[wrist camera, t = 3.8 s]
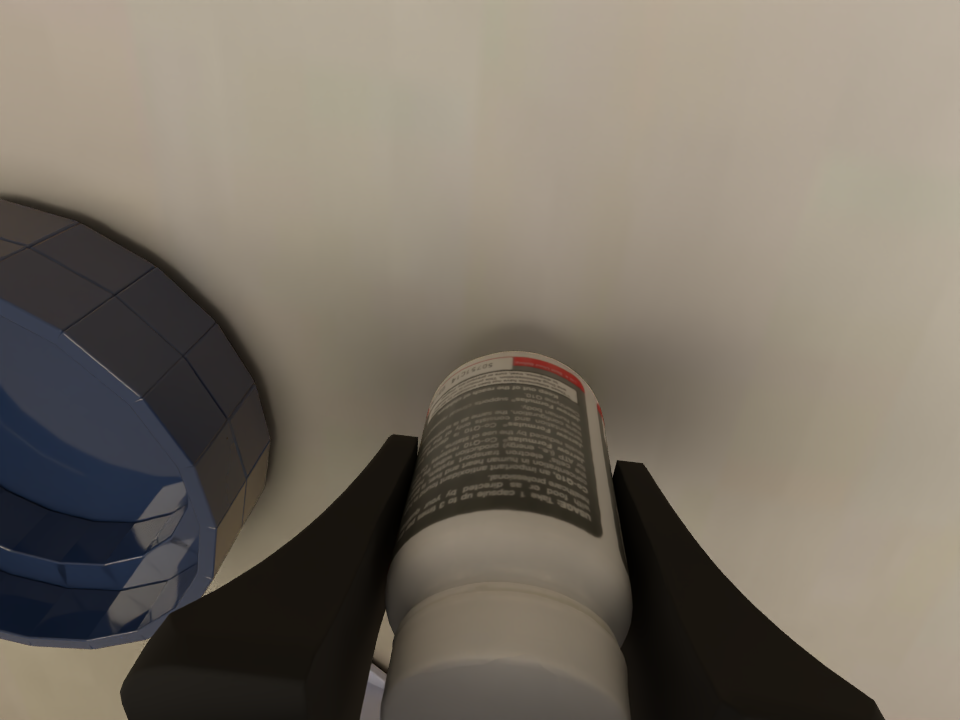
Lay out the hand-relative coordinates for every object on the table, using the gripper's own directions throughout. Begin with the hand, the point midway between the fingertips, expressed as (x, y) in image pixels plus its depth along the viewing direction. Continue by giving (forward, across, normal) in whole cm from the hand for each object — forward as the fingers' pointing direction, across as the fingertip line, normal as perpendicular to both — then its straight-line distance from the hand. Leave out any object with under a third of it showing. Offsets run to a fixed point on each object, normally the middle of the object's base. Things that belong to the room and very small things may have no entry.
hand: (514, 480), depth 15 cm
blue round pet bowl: (+5, +15, +3) cm, 16 cm away
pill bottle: (+3, 0, 0) cm, 3 cm away
